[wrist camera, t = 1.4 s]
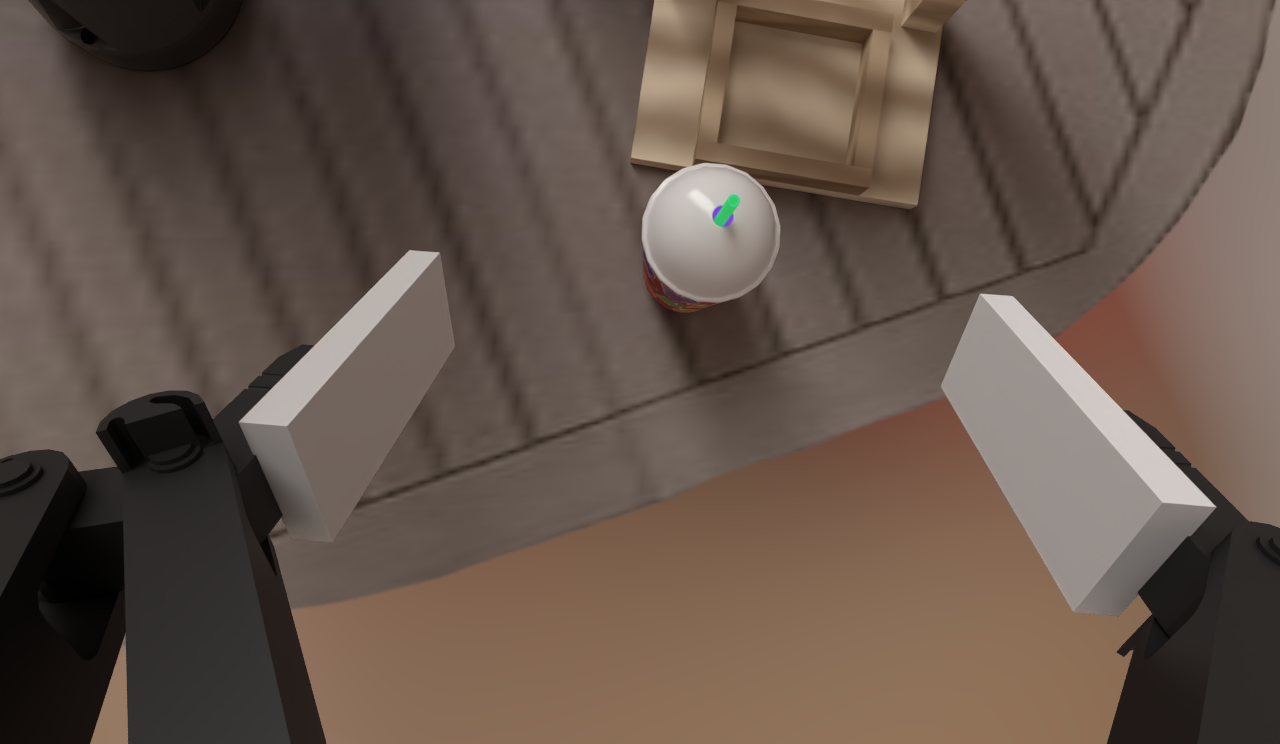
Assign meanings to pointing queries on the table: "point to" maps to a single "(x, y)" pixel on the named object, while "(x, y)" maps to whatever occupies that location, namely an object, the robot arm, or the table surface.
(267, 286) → the table surface
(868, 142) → the wooden pedestal stand
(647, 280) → the smoothie
